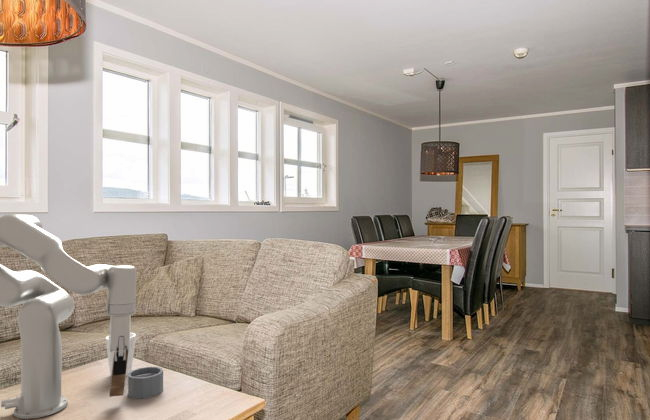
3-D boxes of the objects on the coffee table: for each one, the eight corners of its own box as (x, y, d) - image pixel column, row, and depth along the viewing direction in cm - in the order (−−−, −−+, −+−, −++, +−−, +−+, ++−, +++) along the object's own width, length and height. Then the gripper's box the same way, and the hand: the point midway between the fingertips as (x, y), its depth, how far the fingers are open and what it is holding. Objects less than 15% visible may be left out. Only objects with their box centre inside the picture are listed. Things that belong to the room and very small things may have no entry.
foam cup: (141, 372, 149) (141, 335, 149) (116, 381, 141) (116, 341, 141) (125, 367, 154) (125, 331, 154) (99, 375, 146) (99, 337, 146)
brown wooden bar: (109, 396, 122) (115, 346, 123) (109, 393, 124) (115, 344, 125) (123, 395, 123) (129, 346, 124) (122, 392, 126) (128, 343, 126)
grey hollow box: (134, 395, 129) (134, 381, 129) (132, 389, 133) (133, 376, 133) (158, 390, 132) (158, 377, 132) (156, 384, 136) (156, 372, 137)
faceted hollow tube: (129, 401, 126) (129, 380, 126) (127, 389, 135) (127, 369, 135) (164, 394, 131) (164, 374, 131) (160, 383, 139) (160, 364, 139)
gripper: (106, 304, 130) (104, 366, 129) (107, 315, 116) (105, 384, 115) (133, 302, 133) (131, 362, 133) (137, 313, 119) (135, 380, 119)
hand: (119, 372), depth 124 cm, fingers closed on brown wooden bar, 2 cm apart
